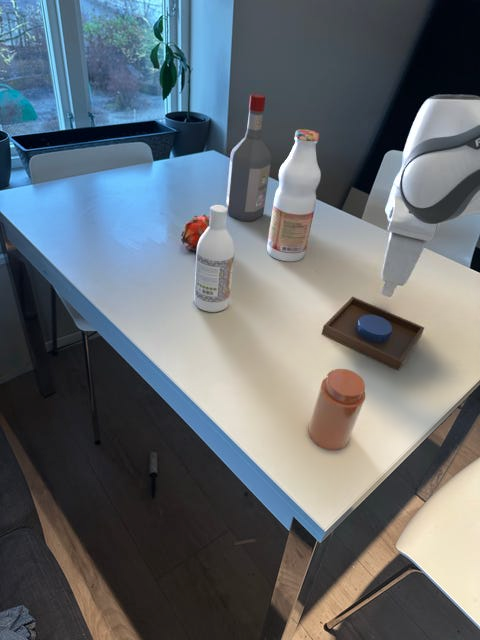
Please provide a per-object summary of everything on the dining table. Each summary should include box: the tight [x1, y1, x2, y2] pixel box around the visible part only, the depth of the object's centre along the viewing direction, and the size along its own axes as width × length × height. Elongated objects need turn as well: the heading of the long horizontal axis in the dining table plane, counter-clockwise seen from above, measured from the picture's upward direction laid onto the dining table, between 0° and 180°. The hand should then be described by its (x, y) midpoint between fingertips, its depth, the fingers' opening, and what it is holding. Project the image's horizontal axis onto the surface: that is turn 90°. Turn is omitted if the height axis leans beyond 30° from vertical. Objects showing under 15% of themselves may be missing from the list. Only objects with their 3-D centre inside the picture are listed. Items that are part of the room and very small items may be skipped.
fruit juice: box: [266, 129, 322, 262], centre depth 100 cm, size 9×9×28 cm
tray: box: [321, 296, 425, 372], centre depth 85 cm, size 15×13×2 cm
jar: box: [307, 368, 366, 451], centre depth 62 cm, size 6×6×11 cm
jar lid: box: [357, 315, 392, 343], centre depth 85 cm, size 6×6×2 cm
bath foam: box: [193, 204, 235, 313], centre depth 83 cm, size 7×7×20 cm
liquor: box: [225, 93, 272, 222], centre depth 115 cm, size 9×9×30 cm
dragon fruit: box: [180, 213, 210, 251], centre depth 104 cm, size 8×8×12 cm
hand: (389, 281), depth 78 cm, fingers open, 8 cm apart
